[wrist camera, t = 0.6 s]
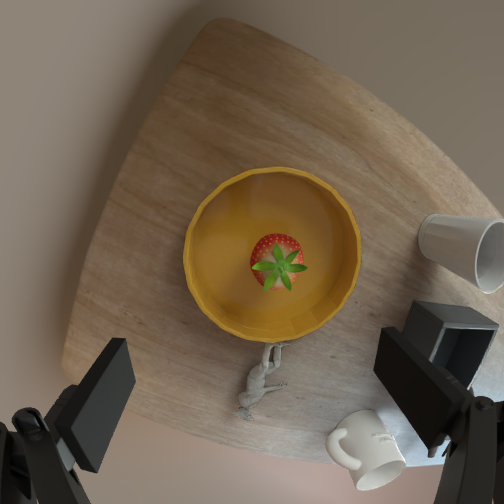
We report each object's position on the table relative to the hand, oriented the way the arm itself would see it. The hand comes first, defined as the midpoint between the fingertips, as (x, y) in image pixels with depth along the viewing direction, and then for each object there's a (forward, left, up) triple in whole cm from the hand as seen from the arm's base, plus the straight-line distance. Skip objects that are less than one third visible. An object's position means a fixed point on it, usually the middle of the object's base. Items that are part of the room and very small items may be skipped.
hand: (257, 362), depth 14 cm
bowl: (-2, +3, -20) cm, 20 cm away
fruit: (-2, +3, -20) cm, 20 cm away
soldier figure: (+14, +5, -20) cm, 25 cm away
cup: (-8, +25, -20) cm, 33 cm away
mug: (+24, +22, -20) cm, 38 cm away
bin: (+8, +31, -20) cm, 38 cm away
